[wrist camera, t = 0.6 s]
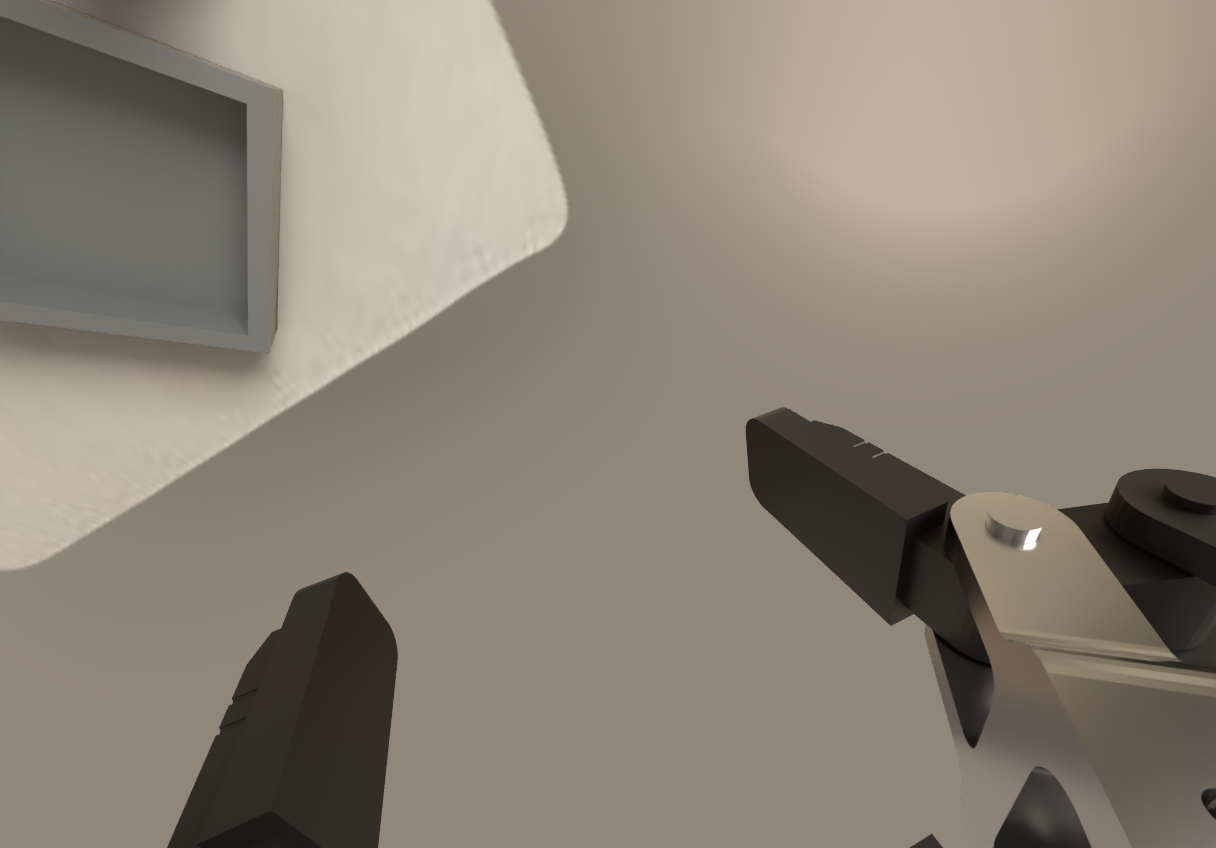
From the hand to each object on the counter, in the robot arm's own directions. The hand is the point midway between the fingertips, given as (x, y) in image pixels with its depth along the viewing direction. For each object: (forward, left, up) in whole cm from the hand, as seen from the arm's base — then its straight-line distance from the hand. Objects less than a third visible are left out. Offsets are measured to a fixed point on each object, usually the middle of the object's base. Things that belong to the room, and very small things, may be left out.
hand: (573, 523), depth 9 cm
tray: (-15, -3, -29) cm, 33 cm away
